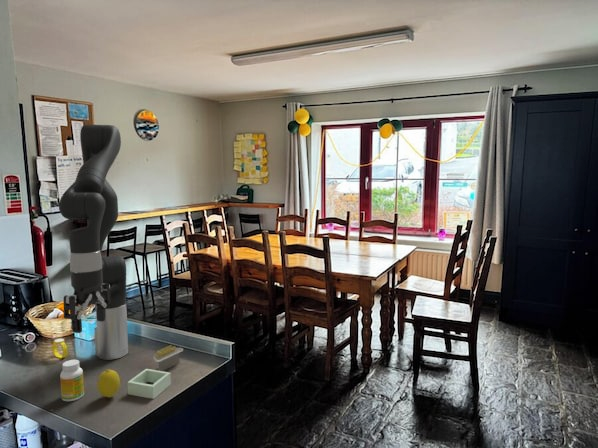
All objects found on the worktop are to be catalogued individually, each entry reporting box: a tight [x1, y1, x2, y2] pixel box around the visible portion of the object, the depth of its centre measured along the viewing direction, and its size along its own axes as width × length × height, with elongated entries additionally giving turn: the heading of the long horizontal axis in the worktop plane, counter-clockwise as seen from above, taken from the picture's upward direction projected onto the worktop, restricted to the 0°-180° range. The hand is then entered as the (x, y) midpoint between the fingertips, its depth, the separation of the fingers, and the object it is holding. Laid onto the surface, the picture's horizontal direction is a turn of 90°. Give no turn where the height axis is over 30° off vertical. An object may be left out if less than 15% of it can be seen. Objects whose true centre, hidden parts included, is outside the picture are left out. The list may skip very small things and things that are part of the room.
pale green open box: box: [126, 368, 172, 400], centre depth 116 cm, size 8×8×4 cm
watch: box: [51, 338, 69, 360], centre depth 135 cm, size 6×3×6 cm, turn 64°
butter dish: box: [153, 344, 184, 372], centre depth 129 cm, size 12×18×7 cm, turn 148°
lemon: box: [96, 368, 121, 399], centre depth 111 cm, size 6×6×8 cm
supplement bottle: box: [59, 359, 85, 402], centre depth 111 cm, size 5×5×10 cm
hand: (89, 326), depth 111 cm, fingers open, 8 cm apart
